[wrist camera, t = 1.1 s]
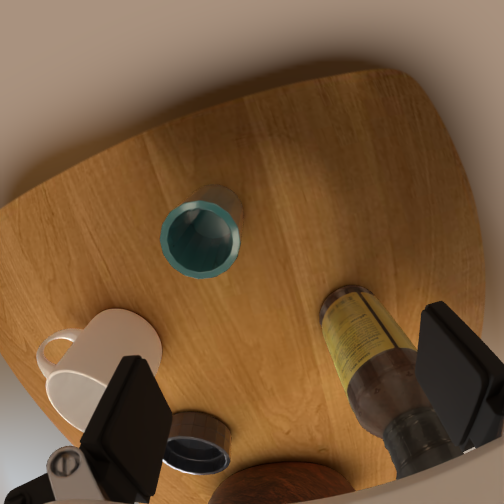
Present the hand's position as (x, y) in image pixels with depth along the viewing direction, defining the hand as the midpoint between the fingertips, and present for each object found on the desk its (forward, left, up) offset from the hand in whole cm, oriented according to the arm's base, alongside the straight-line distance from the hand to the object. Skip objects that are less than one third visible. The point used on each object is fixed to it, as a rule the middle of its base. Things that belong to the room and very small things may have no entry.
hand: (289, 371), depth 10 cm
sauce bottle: (+10, -6, -19) cm, 22 cm away
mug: (-13, -15, -19) cm, 28 cm away
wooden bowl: (+14, -42, -19) cm, 48 cm away
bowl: (-2, -28, -19) cm, 34 cm away
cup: (-5, 0, -19) cm, 19 cm away
